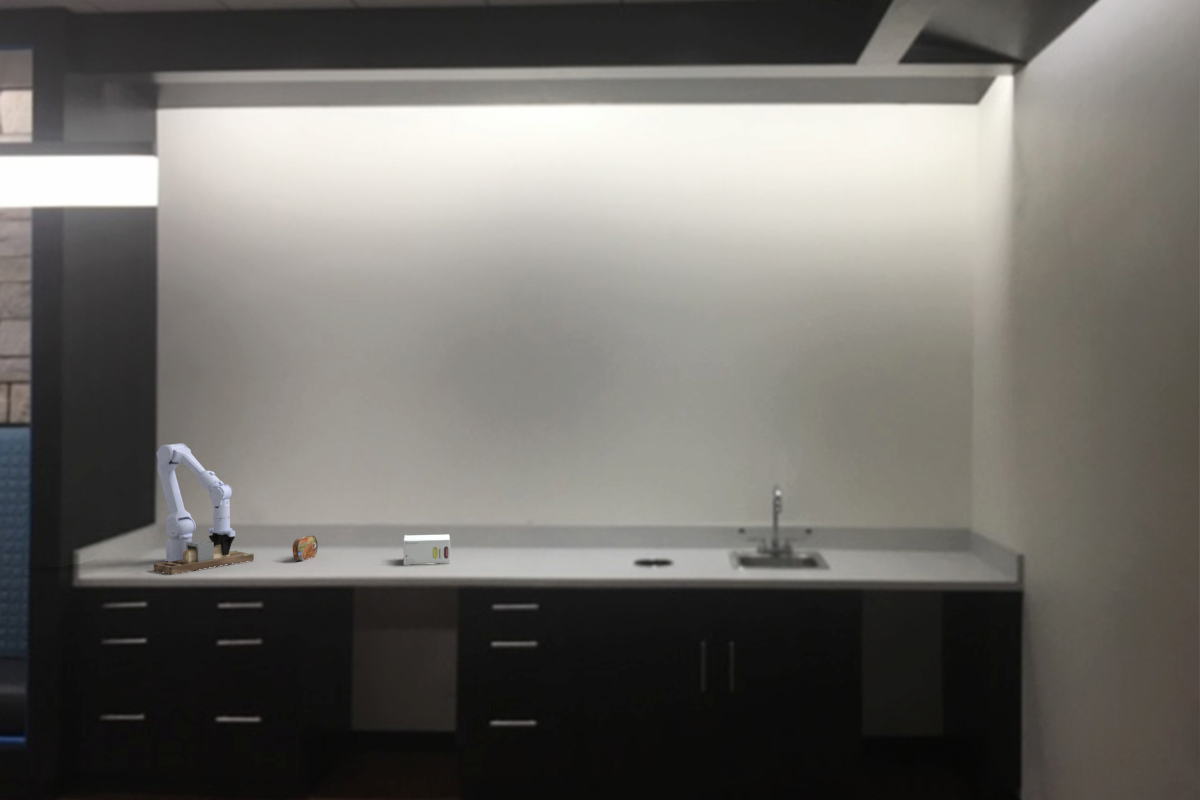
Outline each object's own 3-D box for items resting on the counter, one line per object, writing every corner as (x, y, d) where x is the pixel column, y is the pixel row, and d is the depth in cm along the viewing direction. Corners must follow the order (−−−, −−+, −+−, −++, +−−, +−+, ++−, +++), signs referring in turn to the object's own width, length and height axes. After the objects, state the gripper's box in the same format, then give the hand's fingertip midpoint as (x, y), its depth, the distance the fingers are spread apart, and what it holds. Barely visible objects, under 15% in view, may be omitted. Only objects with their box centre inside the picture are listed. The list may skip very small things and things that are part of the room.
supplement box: (403, 566, 353) (403, 540, 353) (404, 559, 366) (404, 534, 366) (450, 564, 356) (450, 538, 356) (449, 557, 369) (449, 533, 369)
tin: (298, 562, 360) (298, 540, 360) (291, 562, 361) (290, 539, 361) (318, 555, 375) (318, 533, 375) (311, 555, 376) (310, 533, 375)
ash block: (182, 561, 350) (182, 550, 350) (223, 555, 363) (223, 544, 363) (188, 562, 348) (188, 551, 348) (229, 556, 360) (229, 545, 360)
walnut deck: (154, 570, 346) (154, 563, 346) (235, 557, 371) (235, 550, 371) (172, 574, 338) (172, 566, 338) (253, 561, 364) (253, 553, 364)
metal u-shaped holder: (186, 559, 353) (185, 542, 353) (201, 557, 358) (201, 539, 358) (198, 562, 348) (198, 544, 348) (213, 559, 353) (213, 541, 353)
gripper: (242, 518, 359) (243, 554, 359) (220, 515, 367) (220, 550, 368) (225, 520, 353) (225, 557, 353) (203, 517, 362) (203, 553, 362)
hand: (222, 554), depth 360 cm, fingers closed on ash block, 4 cm apart
